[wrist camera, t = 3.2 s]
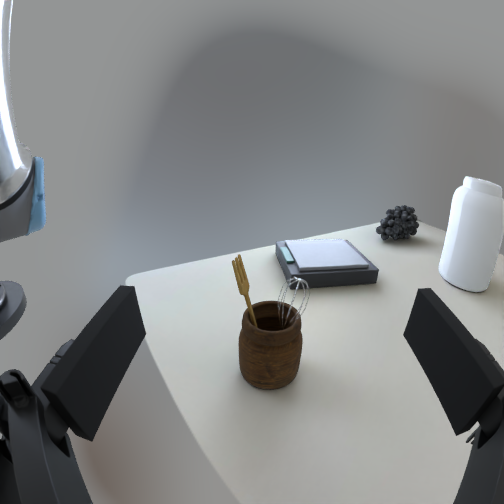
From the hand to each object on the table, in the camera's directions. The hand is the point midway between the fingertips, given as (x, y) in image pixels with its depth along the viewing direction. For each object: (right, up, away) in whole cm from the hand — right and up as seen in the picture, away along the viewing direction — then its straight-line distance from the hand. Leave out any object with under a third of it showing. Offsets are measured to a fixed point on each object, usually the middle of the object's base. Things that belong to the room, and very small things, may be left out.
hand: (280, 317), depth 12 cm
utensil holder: (0, -9, +14) cm, 17 cm away
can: (+41, -3, +30) cm, 51 cm away
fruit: (+35, +6, +52) cm, 63 cm away
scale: (+11, 0, +36) cm, 38 cm away
